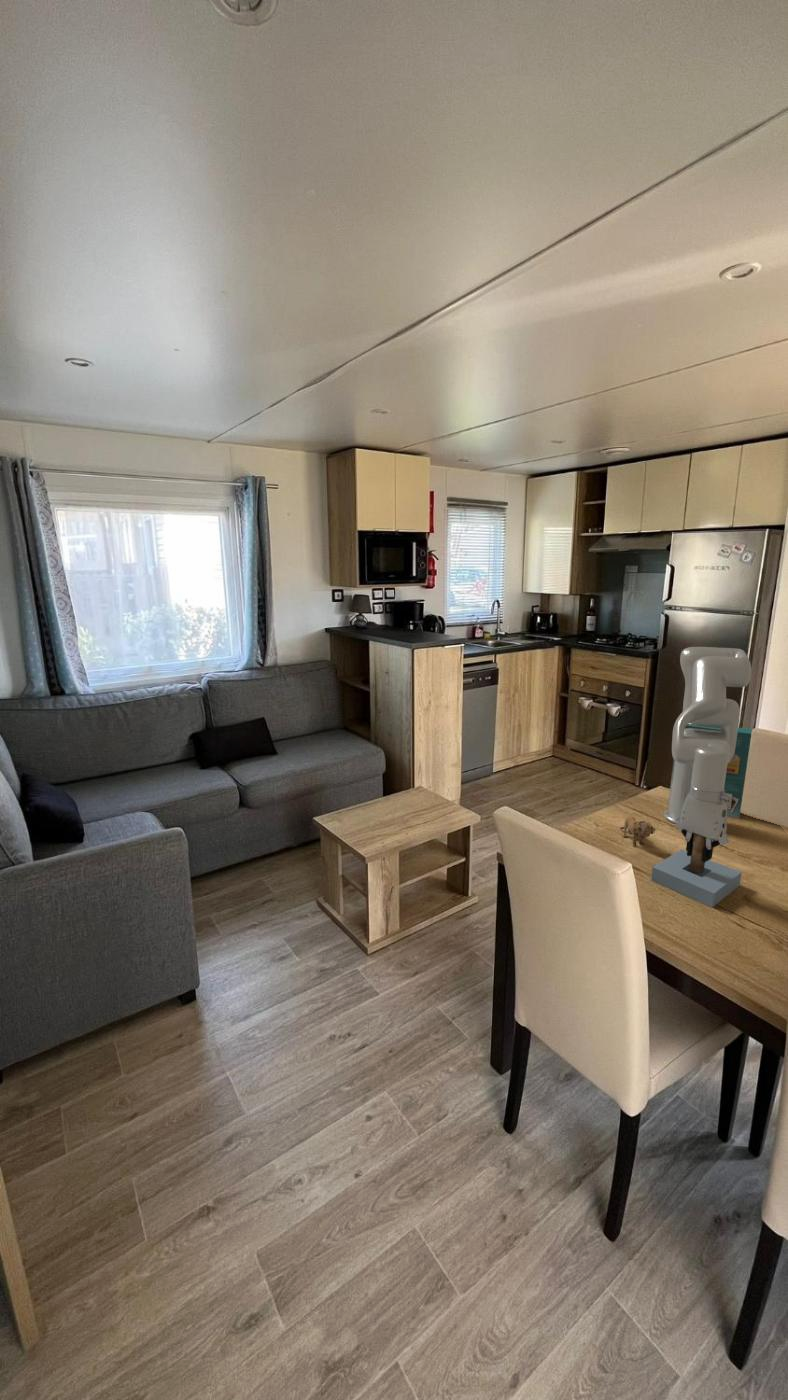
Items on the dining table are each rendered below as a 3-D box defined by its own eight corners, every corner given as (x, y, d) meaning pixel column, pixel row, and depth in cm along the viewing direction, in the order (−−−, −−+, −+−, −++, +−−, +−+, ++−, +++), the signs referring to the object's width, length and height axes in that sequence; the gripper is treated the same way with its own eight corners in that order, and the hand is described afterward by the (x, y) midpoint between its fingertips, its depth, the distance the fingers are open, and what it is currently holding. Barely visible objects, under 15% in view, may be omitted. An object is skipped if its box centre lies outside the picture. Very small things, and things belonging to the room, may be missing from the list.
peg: (693, 865, 154) (698, 824, 151) (706, 870, 151) (711, 829, 148) (687, 869, 152) (692, 828, 149) (700, 874, 149) (705, 832, 146)
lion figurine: (655, 850, 170) (658, 823, 168) (640, 852, 169) (642, 825, 167) (626, 829, 184) (629, 803, 182) (612, 830, 183) (614, 805, 181)
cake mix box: (740, 812, 195) (752, 729, 188) (739, 818, 190) (751, 733, 183) (670, 798, 207) (679, 720, 200) (668, 804, 202) (677, 724, 195)
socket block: (680, 861, 163) (681, 849, 162) (739, 885, 151) (741, 872, 150) (651, 880, 154) (652, 867, 153) (712, 907, 142) (714, 893, 141)
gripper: (747, 799, 142) (737, 865, 146) (681, 780, 155) (674, 841, 159) (734, 807, 138) (724, 875, 142) (667, 787, 151) (661, 849, 155)
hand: (698, 856), depth 151 cm, fingers closed on peg, 3 cm apart
